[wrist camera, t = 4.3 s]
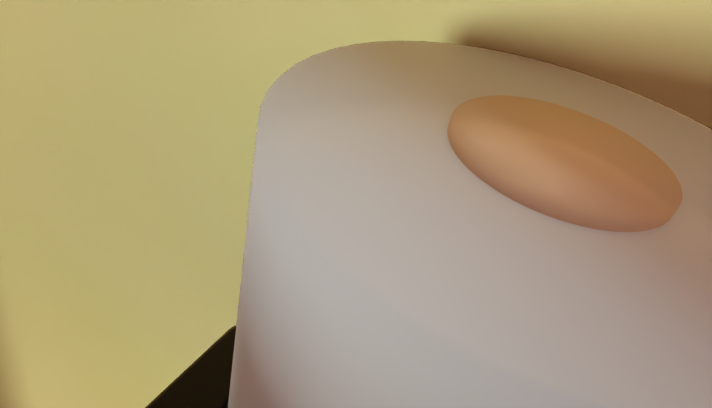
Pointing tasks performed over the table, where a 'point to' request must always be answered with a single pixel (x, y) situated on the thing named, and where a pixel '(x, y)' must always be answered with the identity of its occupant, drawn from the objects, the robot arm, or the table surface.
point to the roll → (472, 238)
